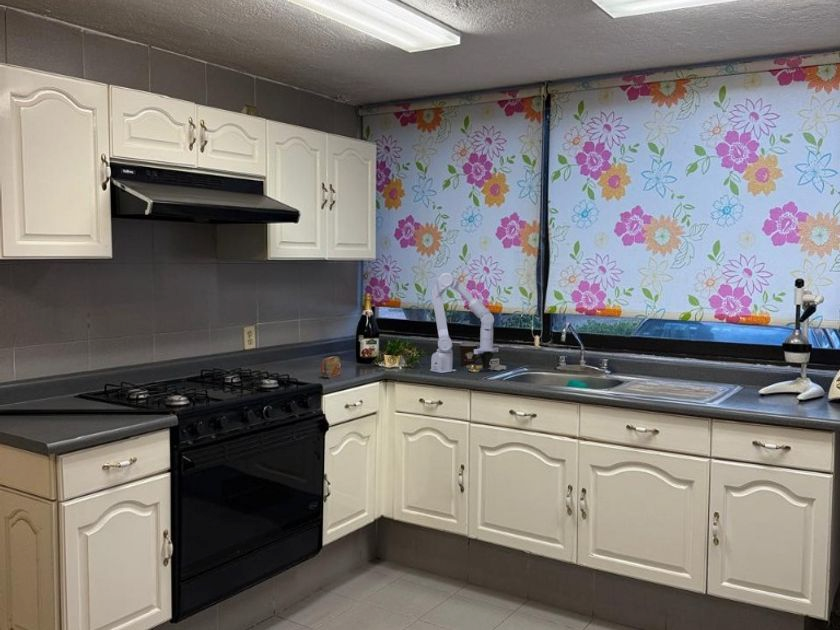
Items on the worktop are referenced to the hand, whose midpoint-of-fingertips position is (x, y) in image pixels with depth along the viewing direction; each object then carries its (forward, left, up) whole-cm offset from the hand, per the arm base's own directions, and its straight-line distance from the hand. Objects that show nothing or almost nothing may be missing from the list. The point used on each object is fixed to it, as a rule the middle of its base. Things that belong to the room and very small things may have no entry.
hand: (485, 368), depth 340 cm
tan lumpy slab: (-62, +32, -2) cm, 70 cm away
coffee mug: (+8, +16, -2) cm, 18 cm away
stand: (+10, +2, -1) cm, 10 cm away
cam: (-1, +3, -1) cm, 3 cm away
